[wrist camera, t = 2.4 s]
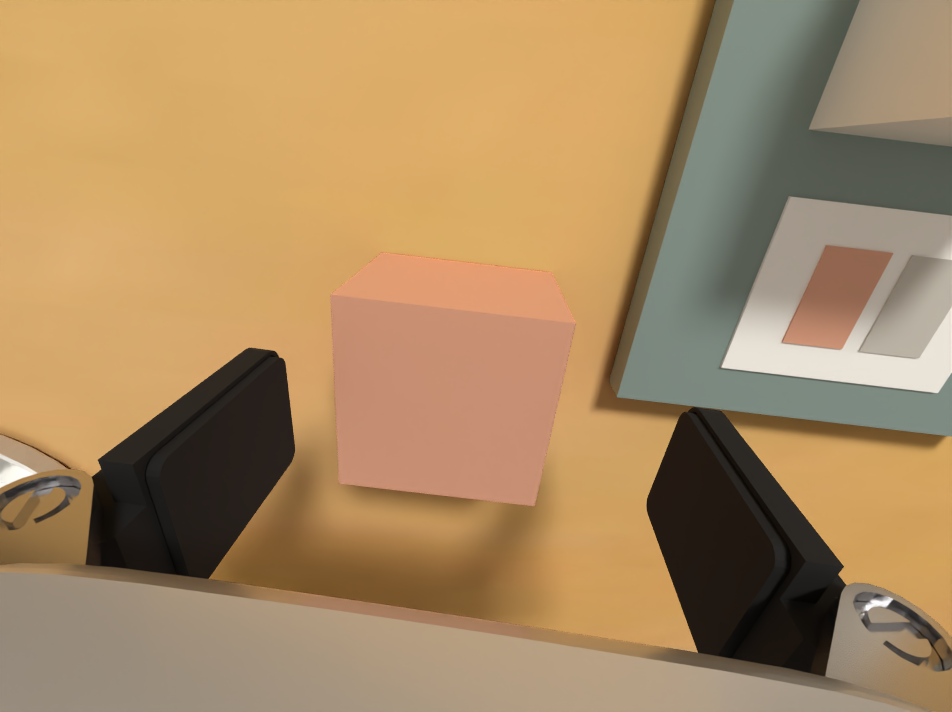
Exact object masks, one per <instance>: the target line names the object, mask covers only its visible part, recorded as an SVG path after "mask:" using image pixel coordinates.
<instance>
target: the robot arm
mask: <svg viewBox="0 0 952 712" xmlns="http://www.w3.org/2000/svg"><path fill="white" fill-rule="evenodd" d="M294 453H295V444H294V435H293V426H292V417H291V408H290V400H289V391H288V382H287V373H286V365H285V361H284V359H282V358H279V356H278V354H277V353H276V352H275V351H271V350H264V349H256V348H248V349H246V350H244V351H243V352H242V353H240V354H239V355H238V356H236V357H235V358H234V359H232V360H231V361H230V362H228V363H227V364H226V365H224V366H223V367H222V368H220V369H219V370H218V371H216V372H215V373H214V374H212V375H211V376H209V377H208V378H207V379H205V380H204V381H203V382H201V383H200V384H199V385H197V386H196V387H195V388H193V389H192V390H191V391H189V392H188V393H187V394H185V395H184V396H183V397H181V398H180V399H179V400H177V401H176V402H175V403H173V404H172V405H171V406H169V407H168V408H167V409H165V410H164V411H163V412H161V413H160V414H159V415H157V416H156V417H155V418H153V419H152V420H151V421H149V422H148V423H147V424H145V425H144V426H142V427H141V428H140V429H138V430H137V431H136V432H134V433H133V434H132V435H130V436H129V437H128V438H126V439H125V440H124V441H122V442H121V443H120V444H118V445H117V446H116V447H114V448H113V449H112V450H110V451H109V452H108V453H106V454H105V455H104V456H102V457H101V458H100V459H98V461H99V464H100V466H101V470H100V471H99V472H98V473H96V474H95V475H94V476H92V477H91V476H90V475H88V474H87V473H86V472H84V471H79V470H75V469H68V468H66V467H65V466H63V465H62V464H61V463H59V462H58V461H56V460H54V459H52V458H51V457H49V456H47V455H45V454H43V453H42V452H40V451H38V450H36V449H34V448H32V447H30V446H28V445H26V444H23V443H21V442H18V441H16V440H14V439H11V438H9V437H6V436H4V435H1V434H0V712H952V637H951V636H950V635H949V634H948V632H947V631H946V630H945V629H944V628H943V627H942V626H941V625H940V624H939V623H938V622H936V621H935V620H934V619H933V618H931V617H930V616H929V615H928V614H926V613H925V612H924V611H923V610H921V609H920V608H918V607H917V606H915V605H914V604H912V603H911V602H909V601H907V600H906V599H904V598H903V597H901V596H899V595H897V594H894V593H892V592H890V591H888V590H886V589H884V588H881V587H877V586H874V585H871V584H866V583H853V584H850V585H847V586H846V584H845V583H844V582H843V580H842V579H841V578H840V576H839V575H838V574H839V572H840V571H841V570H842V568H843V567H844V566H843V565H842V564H841V562H840V561H839V560H838V558H837V557H836V556H835V555H834V553H833V552H832V551H831V550H830V548H829V547H828V546H827V544H826V543H825V542H824V541H823V539H822V538H821V537H820V536H819V534H818V533H817V532H816V530H815V529H814V528H813V527H812V525H811V524H810V523H809V522H808V520H807V519H806V518H805V516H804V515H803V514H802V513H801V511H800V510H799V509H798V508H797V506H796V505H795V504H794V502H793V501H792V500H791V499H790V497H789V496H788V495H787V494H786V492H785V491H784V490H783V489H782V487H781V486H780V485H779V483H778V482H777V481H776V480H775V478H774V477H773V476H772V475H771V473H770V472H769V471H768V469H767V468H766V467H765V466H764V464H763V463H762V462H761V461H760V459H759V458H758V457H757V455H756V454H755V453H754V452H753V450H752V449H751V448H750V447H749V445H748V444H747V443H746V441H745V440H744V439H743V438H742V436H741V435H740V434H739V433H738V431H737V430H736V429H735V427H734V426H733V425H732V424H731V422H730V421H729V420H728V419H727V417H726V416H725V415H724V414H723V413H722V412H721V411H718V410H711V409H703V408H696V407H694V408H691V409H690V410H689V411H688V413H687V412H684V413H682V414H681V415H680V417H679V419H678V422H677V425H676V427H675V430H674V432H673V435H672V437H671V440H670V442H669V445H668V447H667V450H666V452H665V455H664V457H663V460H662V462H661V465H660V468H659V470H658V473H657V475H656V478H655V480H654V483H653V485H652V488H651V490H650V493H649V495H648V498H647V512H648V516H649V519H650V521H651V524H652V527H653V530H654V532H655V535H656V538H657V541H658V543H659V546H660V549H661V552H662V554H663V557H664V560H665V563H666V565H667V568H668V571H669V574H670V576H671V579H672V582H673V585H674V587H675V590H676V593H677V596H678V598H679V601H680V604H681V607H682V609H683V612H684V615H685V618H686V620H687V623H688V626H689V629H690V631H691V634H692V637H693V640H694V642H695V645H696V648H697V651H698V653H696V652H691V651H685V650H678V649H672V648H665V647H659V646H652V645H646V644H640V643H633V642H627V641H620V640H614V639H608V638H601V637H595V636H588V635H582V634H576V633H569V632H563V631H556V630H550V629H543V628H537V627H530V626H524V625H517V624H511V623H504V622H497V621H491V620H484V619H477V618H471V617H464V616H458V615H451V614H444V613H438V612H431V611H424V610H418V609H411V608H404V607H397V606H391V605H384V604H377V603H371V602H364V601H357V600H350V599H343V598H336V597H330V596H323V595H316V594H309V593H302V592H295V591H288V590H281V589H274V588H267V587H260V586H253V585H246V584H239V583H232V582H226V581H219V580H212V579H209V577H210V576H211V574H212V573H213V572H214V570H215V569H216V567H217V566H218V565H219V563H220V562H221V560H222V559H223V558H224V556H225V555H226V553H227V552H228V551H229V549H230V548H231V546H232V545H233V544H234V542H235V541H236V539H237V538H238V536H239V535H240V534H241V532H242V531H243V529H244V528H245V527H246V525H247V524H248V522H249V521H250V520H251V518H252V517H253V515H254V514H255V513H256V511H257V510H258V508H259V507H260V506H261V504H262V503H263V501H264V500H265V499H266V497H267V496H268V494H269V493H270V492H271V490H272V489H273V487H274V486H275V485H276V483H277V482H278V480H279V479H280V478H281V476H282V475H283V473H284V472H285V471H286V469H287V468H288V466H289V465H290V463H291V462H292V460H293V457H294Z"/></svg>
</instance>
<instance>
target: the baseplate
mask: <svg viewBox="0 0 952 712" xmlns="http://www.w3.org/2000/svg"><path fill="white" fill-rule="evenodd" d="M609 383H610V385H611V387H612V389H613V391H614V393H615V395H616V397H619V398H627V399H636V400H644V401H653V402H661V403H670V404H679V405H687V406H696V407H704V408H713V409H721V410H730V411H738V412H747V413H755V414H764V415H773V416H781V417H790V418H798V419H807V420H815V421H824V422H832V423H841V424H849V425H858V426H867V427H875V428H884V429H892V430H901V431H909V432H918V433H926V434H935V435H943V436H952V0H716V2H715V5H714V9H713V12H712V16H711V19H710V23H709V27H708V30H707V34H706V37H705V41H704V44H703V48H702V52H701V55H700V59H699V62H698V66H697V69H696V73H695V76H694V80H693V84H692V87H691V91H690V94H689V98H688V101H687V105H686V109H685V112H684V116H683V119H682V123H681V126H680V130H679V133H678V137H677V141H676V144H675V148H674V151H673V155H672V158H671V162H670V166H669V169H668V173H667V176H666V180H665V183H664V187H663V190H662V194H661V198H660V201H659V205H658V208H657V212H656V215H655V219H654V223H653V226H652V230H651V233H650V237H649V240H648V244H647V247H646V251H645V255H644V258H643V262H642V265H641V269H640V272H639V276H638V280H637V283H636V287H635V290H634V294H633V297H632V301H631V304H630V308H629V312H628V315H627V319H626V322H625V326H624V329H623V333H622V337H621V340H620V344H619V347H618V351H617V354H616V358H615V361H614V365H613V369H612V372H611V376H610V379H609Z"/></svg>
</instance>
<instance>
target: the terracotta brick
mask: <svg viewBox="0 0 952 712" xmlns="http://www.w3.org/2000/svg"><path fill="white" fill-rule="evenodd" d="M330 297H331V319H332V341H333V363H334V384H335V406H336V428H337V450H338V472H339V484H347V485H356V486H364V487H373V488H382V489H390V490H399V491H407V492H416V493H425V494H433V495H442V496H451V497H459V498H468V499H476V500H485V501H494V502H502V503H511V504H520V505H528V506H535V502H536V498H537V494H538V489H539V485H540V480H541V476H542V471H543V467H544V463H545V458H546V454H547V449H548V445H549V440H550V436H551V432H552V427H553V423H554V418H555V414H556V409H557V405H558V401H559V396H560V392H561V387H562V383H563V378H564V374H565V370H566V365H567V361H568V356H569V352H570V347H571V343H572V339H573V334H574V330H575V325H576V323H575V321H574V318H573V316H572V314H571V312H570V310H569V308H568V306H567V303H566V301H565V299H564V297H563V295H562V293H561V291H560V289H559V286H558V284H557V282H556V280H555V278H554V276H553V274H552V272H545V271H536V270H528V269H519V268H511V267H503V266H494V265H486V264H477V263H469V262H460V261H452V260H443V259H435V258H426V257H418V256H409V255H401V254H392V253H384V252H382V253H380V254H379V255H378V256H377V257H376V258H374V259H373V260H372V261H371V262H369V263H368V264H367V265H366V266H365V267H363V268H362V269H361V270H360V271H359V272H357V273H356V274H355V275H354V276H352V277H351V278H350V279H349V280H348V281H346V282H345V283H344V284H343V285H341V286H340V287H339V288H338V289H337V290H335V291H334V292H333V293H332V294H331V295H330Z"/></svg>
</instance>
